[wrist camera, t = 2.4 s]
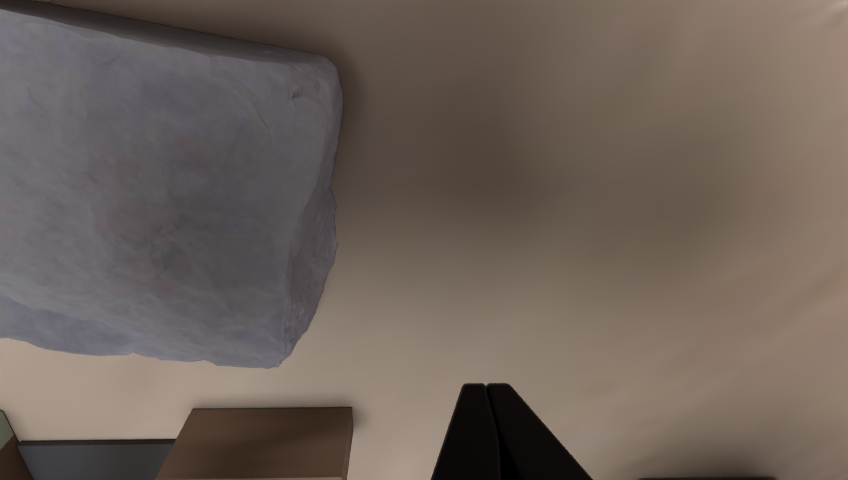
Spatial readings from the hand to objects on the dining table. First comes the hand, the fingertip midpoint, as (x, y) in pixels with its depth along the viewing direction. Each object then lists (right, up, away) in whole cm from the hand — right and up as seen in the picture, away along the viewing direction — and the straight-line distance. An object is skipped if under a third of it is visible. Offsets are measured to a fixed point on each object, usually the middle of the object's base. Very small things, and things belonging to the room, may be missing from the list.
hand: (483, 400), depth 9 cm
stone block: (-10, +5, +6) cm, 12 cm away
